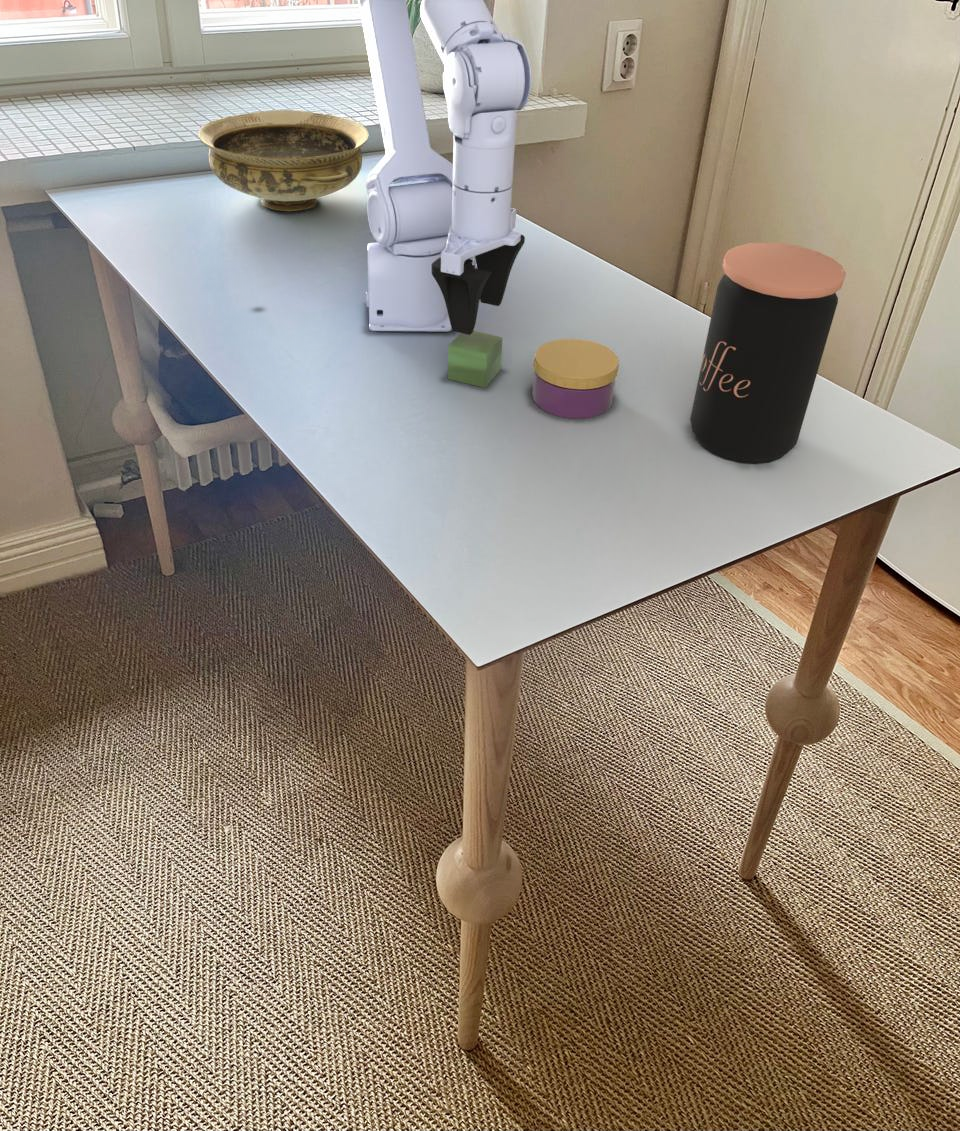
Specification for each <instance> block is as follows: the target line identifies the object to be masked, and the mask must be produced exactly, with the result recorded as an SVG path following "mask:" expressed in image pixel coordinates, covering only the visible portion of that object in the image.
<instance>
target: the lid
mask: <svg viewBox="0 0 960 1131" xmlns="http://www.w3.org/2000/svg"><path fill="white" fill-rule="evenodd" d="M619 361H620V360H619V357H618V355H617V354H616V353H615V352H614V350H612V349H611V348H609V347H608V346H605V345H604V344H601V343H599V342H595V341H592V340H591V341H590V340H587V339H579V338H562V339H554V340H550V341H548V342H545V343H543V344H542V345H539V347H538V348H537V349H536V350H535V352H534V358H533V362H532V367H533V372H534V371H535V372H536V373H537V375H538V376H539V377H541V378H542V379H543V380H545V381H547V382H549V383H551V384H553V385H556V386H559V387H564V388H569V389H594V388H599V387H602V386H605V385H607V384H609V383H611V382H612V381H613V380H614V379H615V380H616V378H617V377H618V373H619V367H620V364H619V363H620V362H619Z"/></svg>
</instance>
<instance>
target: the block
mask: <svg viewBox="0 0 960 1131" xmlns="http://www.w3.org/2000/svg"><path fill="white" fill-rule="evenodd" d="M502 349H503V336H498V335H495V334H490V333H485V332H481V331H476V330H473V333H472V334H471V335H467V334H463V333H459V334H458V335H457V336H456V337H454V339H453V340H452V341H451V342H450V343H449V344H448V349H447V350H448V352H447V354H448V355H447V358H448V359H447V363H448V364H447V379H448V380H449V381H455V382H459V383H463V384H467V385H471V386H475V387H479V388H484V389H486V388H487V387H488V386H489V384H490V383H491V382H492V381H493V380H494V379H495V378H496V377H497V375H498V374H499V373H500V372H501V366H502V352H503V350H502Z"/></svg>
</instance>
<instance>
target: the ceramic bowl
mask: <svg viewBox="0 0 960 1131" xmlns="http://www.w3.org/2000/svg"><path fill="white" fill-rule="evenodd" d="M197 134H198V139H199V140H200V141H201V142H202V144H204V145H205V146H206V147H207V148H209V149H208V163H209V166H210V169H211V171H212V173H213V174H214V175H215V176H216V178H217V179H218V180H220V181H221V182H222V183H223V184H225V185H227V186H228V187H230V188H232V189H233V190H235V191H238V192H240V193H243V194H246V195H247V196H252V197H255V198H259V199H261V200H260V201H261V205H262V206H264V207H265V208H268V209H271V210H276V211H280V212H282V211H283V212H296V211H297V212H298V211H304V210H308V209H310V208H313V207H315V206H316V205H317V203H318V201H317V199H318V198H322V197H325V196H328V195H331V194H334V193H336V192H338V191H340V190H343V189H344V188H346V187H347V186H349V185H350V184H351V183H352V182H353V181H354V180H356V178H357V177H358V176H359V174H360V172H361V170H362V166H363V154H362V149H361V148H362V147H363V146H364V145H365V144H366V143H367V141H368V139H369V137H370V133H369V131H368V129H367V128H366V127H365V126H364V125H362V124H361V123H358V122H357V121H355V120H351V119H349V118H345V117H341V116H339V115H338V116H337V115H333V114H325V113H320V112H312V111H306V110H291V109H282V110H281V109H279V110H264V111H255V112H249V113H242V114H235V115H230V116H225V117H221V118H218V119H215V120H212V121H210V122H208V123H206V124H204V125H202V127H200V129H199V130H198V133H197Z"/></svg>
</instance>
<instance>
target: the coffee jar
mask: <svg viewBox="0 0 960 1131" xmlns="http://www.w3.org/2000/svg"><path fill="white" fill-rule="evenodd" d="M722 269H723V273H724V275H722V277H721V279H720V280H719V282H718V284H717V286H716V287H717V288H716V292H715V297H714V301H713V305H712V306H713V307H712V311H711V316H710V320H709V326H708V331H707V335H706V340H705V346H704V349H703V355H702V360H701V365H700V368H699V369H700V370H699V374H698V379H697V383H696V389H695V393H694V398H693V403H692V407H691V413H690V418H689V422H690V427H691V430H692V433H693V434H694V438H695V439H696V441H697V442H698V444H700V446H701V447H702V448H703V449H705V450H706V451H707V452H709V453H710V454H712V455H714V456H716V457H718V458H722V459H724V460H727V461H731V462H735V463H738V464H750V465H759V464H768V463H772V462H775V461H777V460H780V459H782V458H783V457H784V456H785V455H787V454H788V453H789V452H790V451H791V450H793V448H795V446H797V443H798V441H799V437H800V433H801V430H802V426H803V424H804V421H805V416H806V413H807V410H808V407H809V403H810V399H811V396H812V392H813V389H814V385H815V382H816V379H817V375H818V371H819V368H820V365H821V362H822V358H823V355H824V351H825V348H826V344H827V340H828V338H829V334H830V331H831V328H832V324H833V320H834V317H835V313H836V310H837V306H838V304H839V298H838V295H837V292H838V291H840V290H841V289H842V287H843V284H844V281H845V279H846V276H847V274H846V271H845V269H844V267H843V265H842V264H841V263H840V262H838V261H837V260H835V259H834V258H832V257H831V256H828V255H827V254H824V253H823V252H820V251H817V250H813V249H810V248H807V247H804V246H800V245H793V244H788V243H782V242H781V243H780V242H766V241H765V242H749V243H745V244H741V245H736V246H733V247H732V248H730V249H729V250H727V252H726V253H725V255H724V257H723V258H722Z"/></svg>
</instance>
